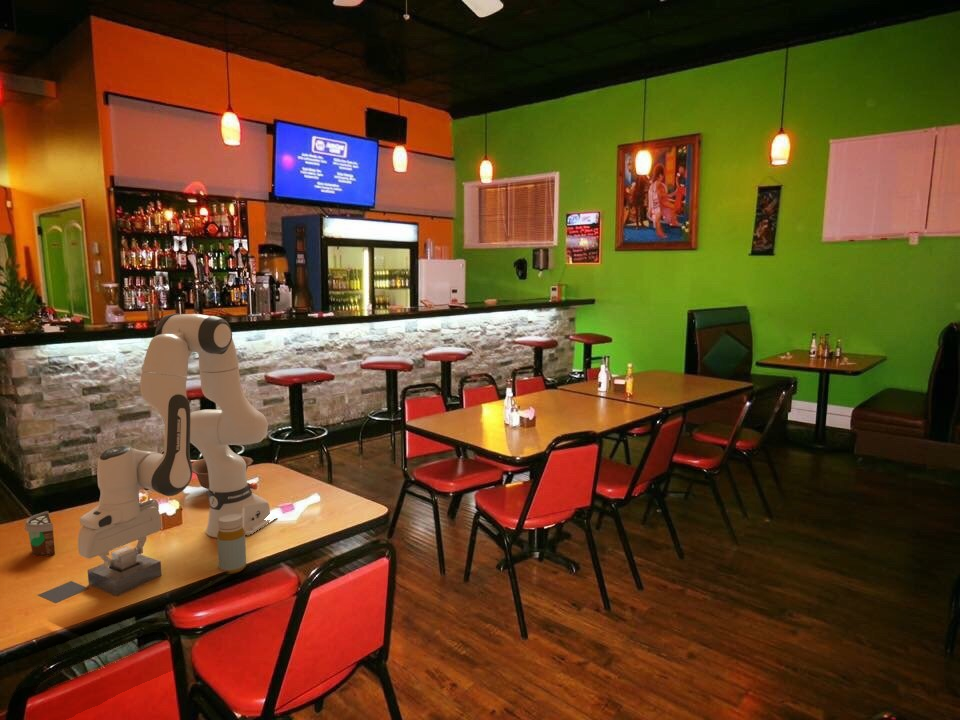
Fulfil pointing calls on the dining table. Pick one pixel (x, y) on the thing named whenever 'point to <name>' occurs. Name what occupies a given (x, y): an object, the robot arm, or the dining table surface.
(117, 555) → the steel plug
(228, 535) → the bottle
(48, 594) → the rubber pad
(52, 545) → the food container
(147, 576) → the socket block
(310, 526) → the dining table surface
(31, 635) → the dining table surface
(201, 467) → the bowl
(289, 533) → the dining table surface
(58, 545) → the dining table surface
